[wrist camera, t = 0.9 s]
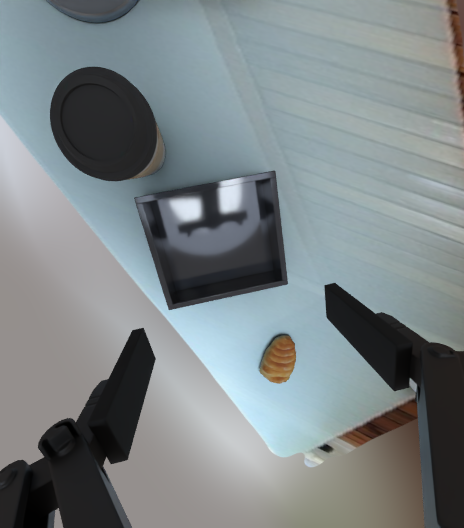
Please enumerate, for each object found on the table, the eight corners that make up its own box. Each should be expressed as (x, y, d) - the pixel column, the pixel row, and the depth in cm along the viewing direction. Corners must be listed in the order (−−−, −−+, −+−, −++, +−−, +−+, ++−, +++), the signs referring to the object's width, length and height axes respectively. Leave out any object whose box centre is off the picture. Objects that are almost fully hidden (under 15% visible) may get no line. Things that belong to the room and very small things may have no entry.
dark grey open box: (145, 196, 35) (133, 197, 29) (264, 173, 36) (275, 170, 30) (173, 293, 40) (168, 310, 35) (276, 271, 41) (288, 284, 36)
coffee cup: (100, 167, 33) (23, 151, 19) (117, 100, 31) (45, 27, 17) (161, 193, 35) (133, 197, 21) (182, 133, 33) (166, 91, 19)
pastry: (267, 331, 45) (273, 343, 42) (299, 334, 46) (307, 346, 43) (257, 370, 48) (261, 385, 44) (287, 372, 49) (294, 386, 45)
